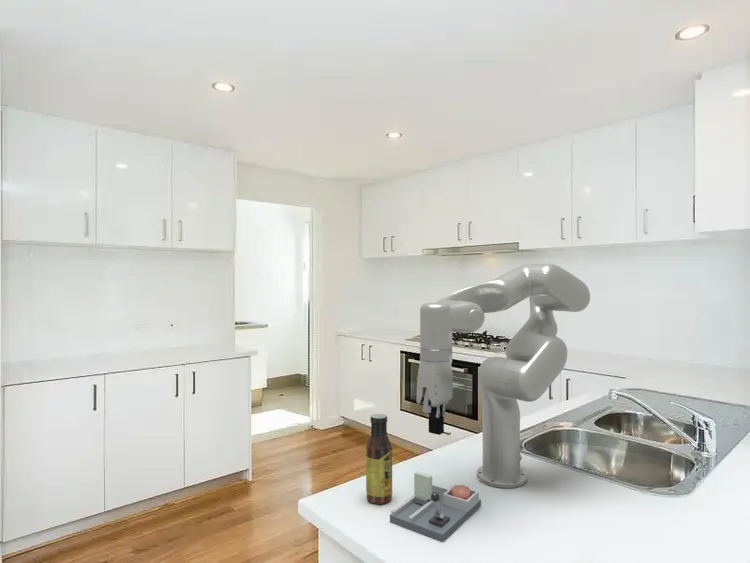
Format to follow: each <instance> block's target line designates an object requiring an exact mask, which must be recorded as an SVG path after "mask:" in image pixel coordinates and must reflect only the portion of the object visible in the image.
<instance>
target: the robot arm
mask: <svg viewBox="0 0 750 563" xmlns="http://www.w3.org/2000/svg"><path fill="white" fill-rule="evenodd" d="M527 298H529V317H528V320H526V322H525V323H524V324H523V326H521V328H520V329H519V330H517V332H516V333H515V334H514V335H513V337H512V338H511V339H510V340H509V341H508V343H507V344H506V347H505V356H506V357H504V356H503V357H502V356H491V357H488V358H485V359H484V360H483V361H482V362H481V364H480V366H479V368H478V372H477V374H478V376H477V377H478V378H477V379H478V385H479V388H480V389H479V390H480V394H481V395H480V396H481V404H482V421H481V422H482V423H481V424H482V465H481V466H479V467H478V468H477V470H476V478H478V480H479V481H480V482H482V483H483V484H486V485H488V486H491V487H495V488H500V489H501V488H502V489H503V488H504V489H513V488H518V487H521V486H524V485H525V484H526V482H527V474H526V472H524V471H523V470H522V469H521V461H522V459H523V456H522V455H521V411H520V406H519V404H518V401H522V402H526V403H527V402H530V403H531V402H535V401H537V400H539V399H540V398H541V397H542V396H543V395H544V394H545V392H546V391H547V390H548V388H550V386H551V385H552V384H553V382H555V380H556V379H557V378H558V376H559V375H560V374H561V372H562V371H563V370H564V368H565V366H566V364H567V360H568V348H567V345H566V343H565V342H564V340H563V339H561V338H560V337H559V336H557V335H558V325H557V322H556V320H555V317H554V313H553V312H554V311H555V312H556V311H557V312H567V313H568V312H569V313H570V312H571V313H572V312H573V313H577V312H581V311H584V310H586V308H587V307H588V306H589V304H590V302H591V292H590V289H589V287H588V285H587V284H586V283H585V282H584V281H583V280H581V279H580V278H578V277H577V276H576V275H573V274H572V273H570V272H569V271H568V270H566V269H564V268H562V267H560V266H559V265H556V264H553V263H527V264H521V265H519V266H517V267H515V268H513V269H511V270H509V271H507V272H504V273H503V274H501V275H499V276H498V277H495V278H493V279H491V280H489V281H485V282H482V283H478V284H475V285H472V286H469V287H467V288H466V287H465V288H462V289H459V290H457V291H454V292H452V293H449V294H448V295H446V296H444V297H442V298H440V299H439V300H436V302H427V303H423V304H421V306H420V309H419V323H420V324H419V339H420V340H419V354H420V355H419V365H418V371H417V380H416V381H417V382H416V403H417V405H419V406H420V405H422V413H426V414H427V417H428V432H429V433H430V434H434V435H439V436H440V435H442V434H444V433H445V419H444V418H445V413H446V406H447V405H448V404H449V402H450V400H452V398H453V394H454V392H453V391H454V388H453V387H454V384H453V383H454V382H453V379H454V377H453V369H452V368H453V365H452V363H453V333H464V334H469V333H470V334H471V333H474V332H476V331H479V329H481V328H482V326H483V324H484V322H485V320H486V319H485V318H486V317H485V316H486V315H485V314H491V313H499V312H504V311H508V310H509V309H510V308H512V307H514V306H515V305H518V304H519V303H520V302H522V301H525V300H526V299H527ZM517 400H518V401H517Z"/></svg>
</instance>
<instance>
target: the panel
mask: <svg viewBox="0 0 750 563" xmlns="http://www.w3.org/2000/svg"><path fill="white" fill-rule="evenodd" d="M456 485H457V484H454V485H453V486H452V487H454V486H456ZM452 487H451V488H449V489H447V488H443V487H440V486H437V485H434V484H432V493H434V492H436V493H438V494H439V496H440V498H439V504H440V508H441V513H442V514H443V515H445V518H444V520H442V519H439V518H436V517H434V513H435V512H436V511H435V506H434V502H433V501H432V500H430V501H429V502H428V503H426V504H425V505H421V504H418V503H416V502H414V497H415V496H416V495H414V494H413V495H412V496H410V497H409V498H408V499H406V500H405V501H403V502H402V503H401V504H399V505H398V506H396V507H395V508H394V509H392V510H391V511H390V514H389V522H390V523H392V524H395V525H397V526H399V527H403V528H404V527H405V529H407V530H410V531H412V532H415V533H417V534H420V535H422V536H425V537H428V538H431V539H433V540H436V541H439V542H442V543H444V542H445V541H446V540H447V539H448V538H449V537H450V536H451V535H452V534H453V533H454V532H455V531H456V530H458V528H459V527H461V526H462V525H463V524H464V523H465V522H466V521H467V520H468V519H469V518H471V516H472V515H473V514H474V513H476V512H477V510H479V508H481V507H482V500H481V499H480V491H479V490H476V489H472V488H470V497H469V498H468V499H467V500H464V499H461V498H457V497H454V496H452Z"/></svg>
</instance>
